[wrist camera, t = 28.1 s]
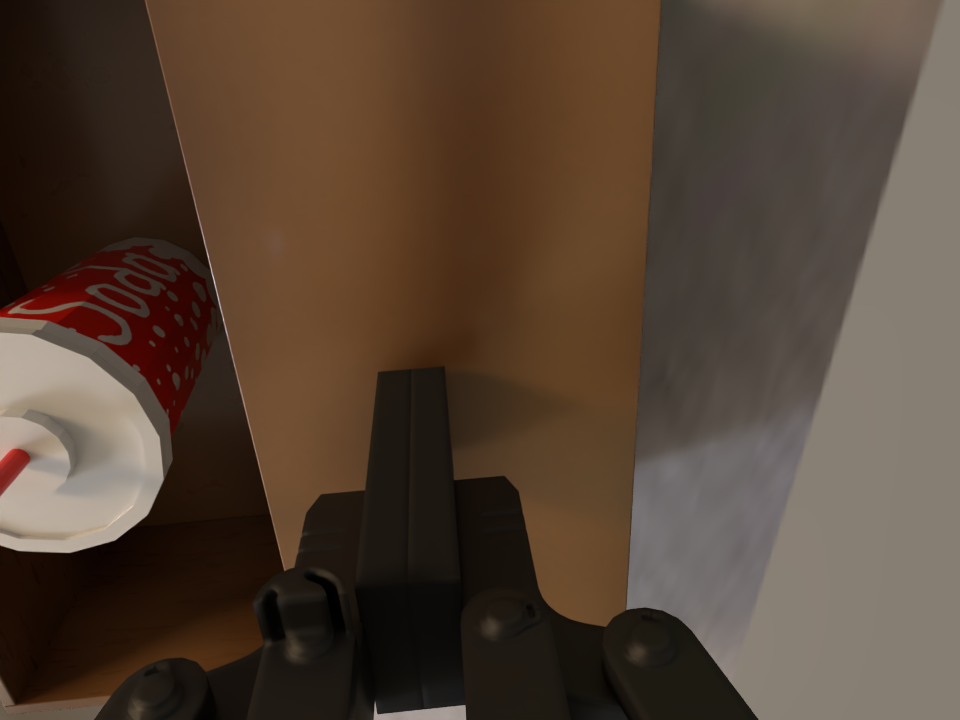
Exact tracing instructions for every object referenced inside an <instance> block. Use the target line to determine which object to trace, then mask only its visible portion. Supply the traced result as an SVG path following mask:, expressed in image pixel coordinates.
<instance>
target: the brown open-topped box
mask: <svg viewBox="0 0 960 720" xmlns="http://www.w3.org/2000/svg"><path fill="white" fill-rule="evenodd" d="M133 237H139V238H150V239H161V240H165V241H167V242H170V243H172V244H174V245H176V246H178V247H180V248H183V249H185V250H187V251H189V252H191V253H192V254H193V255H194V256H195V257H196V258H197V259H198V260H199V261H200V262H201V263H202V264H203V265H205V266H206V267H207V268H208V269H209V270H210V271H211V269H210V265H209V261H208V257H207V253H206V249H205V245H204V240H203V236H202V232H201V228H200V224H199V220H198V216H197V212H196V208H195V204H194V200H193V195H192V191H191V187H190V183H189V179H188V175H187V171H186V167H185V163H184V159H183V155H182V151H181V146H180V142H179V138H178V134H177V130H176V126H175V122H174V118H173V114H172V110H171V106H170V101H169V97H168V93H167V89H166V85H165V81H164V77H163V73H162V69H161V65H160V61H159V56H158V52H157V48H156V44H155V40H154V36H153V32H152V28H151V24H150V20H149V16H148V12H147V7H146V3H145V0H0V309H2V308H4V307H5V306H7V305H9V304H10V303H12V302H14V301H16V300H17V299H19V298H21V297H22V296H24V295H26V294H27V293H29V292H31V291H32V290H34V289H36V288H37V287H39V286H41V285H42V284H44V283H46V282H47V281H49V280H51V279H52V278H54V277H56V276H58V275H59V274H61V273H63V272H64V271H66V270H68V269H69V268H71V267H73V266H74V265H76V264H78V263H79V262H81V261H83V260H84V259H86V258H88V257H89V256H91V255H93V254H94V253H96V252H98V251H100V250H101V249H103V248H105V247H106V246H108V245H110V244H113V243H117V242H120V241H123V240H127V239H130V238H133ZM171 445H172V457H173V460H172V463H171V465H170V467H169V469H168V472H167V474H166V477H165V479H164V481H163V483H162V486H161V488H160V490H159V492H158V494H157V497H156V499H155V501H154V503H153V506H152V508H151V510H150V512H149V514H148V515H147V516H146V517H145V518H143V519H142V520H141V521H139V522H138V523H137V524H136V525H134V526H133V527H132V528H130V529H129V530H128V531H127V532H125V533H124V534H123V535H121V536H120V537H119V538H117V539H116V540H115V541H111V542H108V543H104V544H100V545H97V546H93V547H90V548H86V549H82V550H79V551H75V552H71V553H60V552H32V551H17V550H14V549H10V548H7V547H4V546H1V545H0V702H1V703H2V705H3V706H4V709H5V711H6V712H7V714H8V715H13V714H23V713H32V712H42V711H51V710H61V709H71V708H81V707H90V706H99V705H105V704H106V702H107V701H108V699H109V698H110V697H111V695H112V694H113V692H114V691H115V690H116V689H117V688H118V687H119V686H120V685H121V684H122V683H123V682H124V681H125V679H126V678H127V677H129V676H130V675H132V674H133V673H135V672H136V671H138V670H139V669H141V668H142V667H144V666H145V665H148V664H151V663H154V662H156V661H159V660H162V659H165V658H180V657H183V658H186V659H189V660H192V661H196V662H197V663H198V664H199V665H200V666H201V667H202V668H203V669H204V671H205V672H207V671H209V670H212V669H215V668H218V667H220V666H223V665H226V664H228V663H231V662H234V661H236V660H238V659H241V658H243V657H245V656H247V655H249V654H251V653H252V652H254V651H255V650H257V649H258V648H260V647H261V646H263V645H264V642H263V638H262V635H261V631H260V628H259V624H258V620H257V617H256V613H255V610H254V606H253V601H254V599H255V597H256V596H257V594H258V592H259V590H260V589H261V588H262V587H263V586H264V585H265V584H266V583H267V582H268V581H269V580H270V579H271V578H272V577H274V576H276V575H278V574H280V573H282V572H284V567H283V563H282V559H281V555H280V551H279V547H278V543H277V539H276V535H275V531H274V527H273V523H272V518H271V514H270V510H269V506H268V502H267V498H266V494H265V490H264V486H263V482H262V478H261V473H260V469H259V465H258V461H257V457H256V453H255V449H254V445H253V441H252V437H251V433H250V429H249V424H248V420H247V416H246V412H245V408H244V404H243V400H242V396H241V392H240V388H239V384H238V379H237V375H236V371H235V367H234V363H233V359H232V355H231V351H230V347H229V343H228V339H227V334H226V330H225V326H224V322H222V324H221V326H220V329H219V331H218V333H217V335H216V338H215V340H214V342H213V344H212V347H211V349H210V351H209V354H208V356H207V358H206V360H205V363H204V365H203V367H202V369H201V372H200V374H199V376H198V379H197V381H196V383H195V385H194V388H193V390H192V392H191V394H190V397H189V399H188V401H187V403H186V406H185V408H184V410H183V413H182V415H181V417H180V419H179V422H178V424H177V426H176V428H175V431H174V433H173V435H172V437H171Z"/></svg>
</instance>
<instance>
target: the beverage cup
mask: <svg viewBox="0 0 960 720" xmlns="http://www.w3.org/2000/svg"><path fill="white" fill-rule="evenodd" d="M222 322H223V318H222V314H221V310H220V306H219V302H218V298H217V294H216V290H215V285H214V281H213V277H212V273H211V271H210V270H209V269H208V268H207V267H206V266H205V265H203V264H202V263H201V262H200V261H199V260H198V259H197V258H196V257H195V256H194V255H193V254H192V253H191V252H189V251H187V250H185V249H183V248H180V247H178V246H176V245H174V244H172V243H170V242H167V241H165V240H161V239H150V238H139V237H133V238H130V239H127V240H123V241H120V242H117V243H113V244H110V245H108V246H106V247H105V248H103V249H101V250H100V251H98V252H96V253H94V254H93V255H91V256H89V257H88V258H86V259H84V260H83V261H81V262H79V263H78V264H76V265H74V266H73V267H71V268H69V269H68V270H66V271H64V272H63V273H61V274H59V275H58V276H56V277H54V278H52V279H51V280H49V281H47V282H46V283H44V284H42V285H41V286H39V287H37V288H36V289H34V290H32V291H31V292H29V293H27V294H26V295H24V296H22V297H21V298H19V299H17V300H16V301H14V302H12V303H10V304H9V305H7V306H5V307H4V308H2V309H0V545H1V546H4V547H7V548H10V549H14V550H17V551H32V552H60V553H71V552H75V551H79V550H82V549H86V548H90V547H93V546H97V545H100V544H104V543H108V542H111V541H115V540H116V539H117V538H119V537H120V536H121V535H123V534H124V533H125V532H127V531H128V530H129V529H130V528H132V527H133V526H134V525H136V524H137V523H138V522H139V521H141V520H142V519H143V518H145V517H146V516H147V515H148V514H149V512H150V510H151V508H152V506H153V503H154V501H155V499H156V497H157V494H158V492H159V490H160V488H161V486H162V483H163V481H164V479H165V477H166V474H167V472H168V469H169V467H170V465H171V463H172V460H173V457H172V445H171V437H172V435H173V433H174V431H175V428H176V426H177V424H178V422H179V419H180V417H181V415H182V413H183V410H184V408H185V406H186V403H187V401H188V399H189V397H190V394H191V392H192V390H193V388H194V385H195V383H196V381H197V379H198V376H199V374H200V372H201V369H202V367H203V365H204V363H205V360H206V358H207V356H208V354H209V351H210V349H211V347H212V344H213V342H214V340H215V338H216V335H217V333H218V331H219V329H220V326H221V324H222Z"/></svg>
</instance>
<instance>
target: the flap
mask: <svg viewBox="0 0 960 720" xmlns="http://www.w3.org/2000/svg"><path fill="white" fill-rule="evenodd" d="M145 3H146V7H147V12H148V16H149V20H150V24H151V28H152V32H153V36H154V40H155V44H156V48H157V52H158V56H159V61H160V65H161V69H162V73H163V77H164V81H165V85H166V89H167V93H168V97H169V101H170V106H171V110H172V114H173V118H174V122H175V126H176V130H177V134H178V138H179V142H180V146H181V151H182V155H183V159H184V163H185V167H186V171H187V175H188V179H189V183H190V187H191V191H192V195H193V200H194V204H195V208H196V212H197V216H198V220H199V224H200V228H201V232H202V236H203V240H204V245H205V249H206V253H207V257H208V261H209V265H210V269H211V273H212V277H213V281H214V285H215V290H216V294H217V298H218V302H219V306H220V310H221V314H222V318H223V322H224V326H225V330H226V334H227V339H228V343H229V347H230V351H231V355H232V359H233V363H234V367H235V371H236V375H237V379H238V384H239V388H240V392H241V396H242V400H243V404H244V408H245V412H246V416H247V420H248V424H249V429H250V433H251V437H252V441H253V445H254V449H255V453H256V457H257V461H258V465H259V469H260V473H261V478H262V482H263V486H264V490H265V494H266V498H267V502H268V506H269V510H270V514H271V518H272V523H273V527H274V531H275V535H276V539H277V543H278V547H279V551H280V555H281V559H282V563H283V567H284V571H286V570H288V569H290V568H294V566H295V562H296V557H297V554H298V548H299V543H300V539H301V537H302V530H303V525H304V521H305V516H306V512H307V511H308V510H309V509H310V507H311V506H312V505H313V504H314V502H315V501H316V500H317V499H318V497H319V496H320V495H321V494H329V493H340V492H351V491H361V490H365V486H366V477H367V468H368V459H369V449H370V440H371V431H372V422H373V413H374V403H375V394H376V385H377V376H378V372H382V371H394V370H406V369H418V368H429V367H441V366H445V376H446V388H447V399H448V411H449V422H450V433H451V445H452V456H453V468H454V480H462V479H472V478H483V477H494V476H505V477H506V478H507V479H508V480H509V481H510V482H511V483H512V484H513V485H514V487H515V488H516V489H517V490H518V491H519V495H520V500H521V505H522V510H523V514H524V519H525V524H526V530H527V534H528V539H529V544H530V548H531V553H532V558H533V563H534V568H535V573H536V578H537V582H538V587H539V590H540V592H541V595H542V597H543V599H544V600H545V601H546V603H547V604H548V605H549V606H550V607H551V608H552V609H554V610H555V611H556V612H557V613H559V614H561V615H563V616H565V617H567V618H569V619H571V620H575V621H578V622H582V623H587V624H593V625H599V626H604V627H606V626H607V625H608V624H609V622H610V621H611V620H612V618H613V617H615V616H616V615H618V614H620V613H622V612H624V611H626V605H627V588H628V570H629V553H630V536H631V519H632V502H633V485H634V468H635V451H636V433H637V416H638V399H639V382H640V365H641V348H642V331H643V314H644V296H645V279H646V262H647V245H648V228H649V211H650V194H651V177H652V159H653V142H654V125H655V108H656V91H657V74H658V57H659V40H660V22H661V5H662V0H145Z"/></svg>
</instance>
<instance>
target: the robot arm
mask: <svg viewBox="0 0 960 720" xmlns="http://www.w3.org/2000/svg"><path fill="white" fill-rule="evenodd" d="M253 606H254V610H255V613H256V617H257V620H258V624H259V628H260V631H261V635H262V638H263V642H264V645H263V646H261V647H260V648H258V649H257V650H255V651H254V652H252V653H251V654H249V655H247V656H245V657H243V658H241V659H238V660H236V661H234V662H231V663H228V664H226V665H223V666H220V667H218V668H215V669H212V670H209V671H207V672H205V671H204V669H203V668H202V667H201V666H200V665H199V664H198V663H197V662H196V661H192V660H189V659H186V658H183V657H180V658H165V659H162V660H159V661H156V662H154V663H151V664H148V665H145V666H144V667H142V668H141V669H139V670H138V671H136V672H135V673H133V674H132V675H130V676H129V677H127V678H126V679H125V681H124V682H123V683H122V684H121V685H120V686H119V687H118V688H117V689H116V690H115V691H114V692H113V694H112V695H111V697H110V698H109V699H108V701H107V702H106V704H105V705H104V707H103V708H102V709H101V711H100V712H99V714H98V715H97V716H96V718H95V719H94V720H373V719H374V703H376V708H377V713H378V714H384V713H393V712H403V711H412V710H421V709H431V708H440V707H449V706H459V705H466V720H758V718H757V717H756V716H755V714H754V713H753V712H752V710H751V709H750V708H749V706H748V705H747V704H746V702H745V701H744V700H743V698H742V697H741V696H740V694H739V693H738V692H737V691H736V689H735V688H734V686H733V685H732V684H731V683H730V681H729V680H728V679H727V677H726V676H725V675H724V673H723V672H722V671H721V669H720V668H719V667H718V665H717V664H716V663H715V661H714V660H713V659H712V657H711V656H710V655H709V653H708V652H707V651H706V649H705V648H704V647H703V645H702V644H701V643H700V641H699V640H698V639H697V637H696V636H695V635H694V633H693V632H692V631H691V630H690V629H689V628H688V627H687V626H686V625H685V624H684V623H683V622H682V621H681V620H679V619H678V618H676V617H674V616H672V615H670V614H668V613H666V612H664V611H662V610H656V609H650V608H637V609H630V610H626V611H624V612H622V613H620V614H618V615H616V616H615V617H613V618H612V620H611V621H610V622H609V624H608V625H607V626H606V627H604V626H599V625H593V624H587V623H582V622H578V621H575V620H571V619H569V618H567V617H565V616H563V615H561V614H559V613H557V612H556V611H555V610H554V609H552V608H551V607H550V606H549V605H548V604H547V603H546V601H545V600H544V599H543V597H542V595H541V592H540V590H539V587H538V582H537V578H536V573H535V568H534V563H533V558H532V553H531V548H530V544H529V539H528V534H527V530H526V524H525V519H524V514H523V510H522V505H521V500H520V495H519V491H518V490H517V489H516V488H515V487H514V485H513V484H512V483H511V482H510V481H509V480H508V479H507V478H506V477H505V476H494V477H483V478H472V479H462V480H454V468H453V456H452V445H451V433H450V422H449V411H448V399H447V388H446V376H445V366H441V367H429V368H418V369H406V370H394V371H382V372H378V376H377V385H376V394H375V403H374V413H373V422H372V431H371V440H370V449H369V459H368V468H367V477H366V486H365V490H361V491H351V492H340V493H329V494H321V495H320V496H319V497H318V499H317V500H316V501H315V502H314V504H313V505H312V506H311V507H310V509H309V510H308V511H307V512H306V516H305V521H304V525H303V530H302V537H301V539H300V543H299V548H298V554H297V557H296V562H295V566H294V568H290V569H288V570H286V571H284V572H282V573H280V574H278V575H276V576H274V577H272V578H271V579H270V580H269V581H268V582H267V583H266V584H265V585H264V586H263V587H262V588H261V589H260V590H259V592H258V594H257V596H256V597H255V599H254V601H253Z"/></svg>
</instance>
